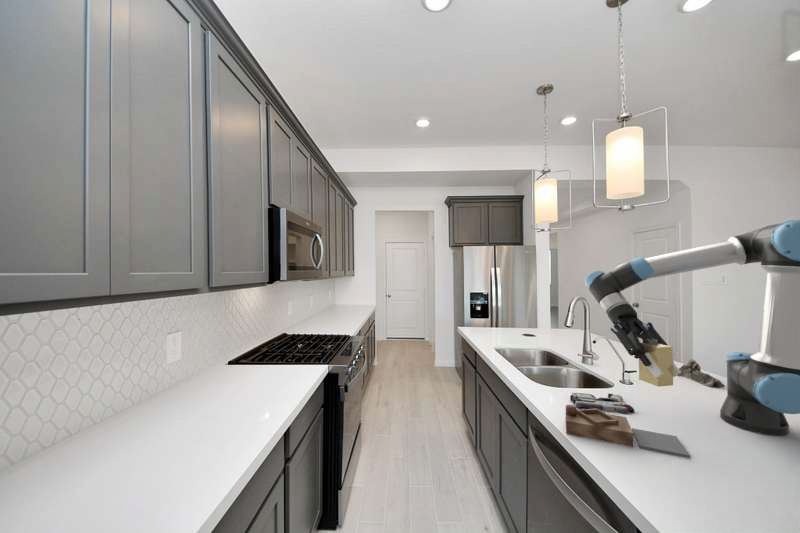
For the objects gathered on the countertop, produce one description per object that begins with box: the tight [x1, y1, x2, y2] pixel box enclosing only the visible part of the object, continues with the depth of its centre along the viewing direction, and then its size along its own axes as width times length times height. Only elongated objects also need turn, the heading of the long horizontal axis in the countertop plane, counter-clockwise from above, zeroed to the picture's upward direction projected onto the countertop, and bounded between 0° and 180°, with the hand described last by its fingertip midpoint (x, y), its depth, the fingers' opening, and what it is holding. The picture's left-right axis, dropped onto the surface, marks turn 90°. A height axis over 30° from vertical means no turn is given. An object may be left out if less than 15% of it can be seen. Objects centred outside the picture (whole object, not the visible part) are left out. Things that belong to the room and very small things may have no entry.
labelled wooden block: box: [638, 339, 674, 388], centre depth 94 cm, size 5×6×12 cm
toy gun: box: [569, 392, 635, 414], centre depth 121 cm, size 3×20×15 cm
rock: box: [676, 359, 725, 389], centre depth 146 cm, size 18×11×10 cm, turn 173°
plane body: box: [565, 404, 634, 448], centre depth 100 cm, size 17×11×6 cm
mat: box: [631, 427, 691, 459], centre depth 93 cm, size 11×11×1 cm
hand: (668, 375), depth 90 cm, fingers closed on labelled wooden block, 5 cm apart
